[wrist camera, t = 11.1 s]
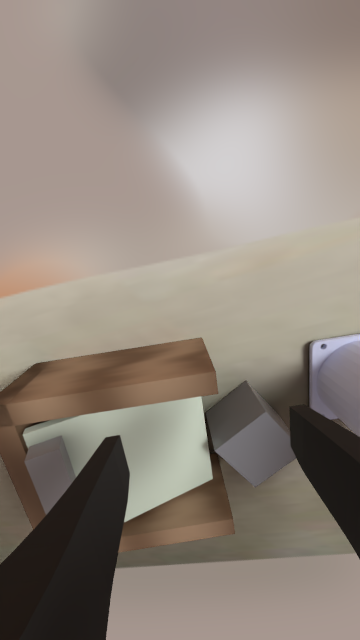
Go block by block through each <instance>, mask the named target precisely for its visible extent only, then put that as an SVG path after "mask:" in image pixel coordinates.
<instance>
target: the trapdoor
mask: <svg viewBox="0 0 360 640" xmlns="http://www.w3.org/2000/svg"><path fill="white" fill-rule="evenodd" d="M116 435H120V437H121V441H122V445H123V448H124V452H125V456H126V460H127V464H128V467H129V471H130V480H129V493H128V503H127V508H126V514H125V519H124V522H126V521H128V520H130V519H132V518H134V517H136V516H138V515H140V514H142V513H144V512H146V511H148V510H150V509H152V508H155V507H157V506H159V505H161V504H163V503H165V502H167V501H169V500H171V499H173V498H175V497H177V496H179V495H181V494H183V493H185V492H187V491H189V490H191V489H193V488H195V487H197V486H199V485H201V484H203V483H205V482H207V481H209V480H211V479H213V475H212V468H211V461H210V454H209V447H208V440H207V433H206V426H205V419H204V412H203V405H202V398H201V396H200V397H194V398H187V399H181V400H175V401H168V402H162V403H156V404H149V405H143V406H137V407H130V408H124V409H118V410H111V411H105V412H99V413H92V414H86V415H80V416H73V417H67V418H61V419H54V420H50V421H47V422H43V423H40V424H37V425H34V426H31V427H28V428H25V430H24V432H23V437H24V440H25V442H26V445H27V447H28V452H27V455H26V458H25V461H24V462H25V465H26V467H27V470H28V472H29V474H30V477H31V479H32V482H33V484H34V487H35V489H36V492H37V494H38V496H39V499H40V501H41V504H42V506H43V509H44V511H45V514H46V515H47V513H48V512H49V511H50V510H51V509H52V507H53V506H54V505H55V504H56V502H57V501H58V500H59V499H60V497H61V496H62V495H63V494H64V493H65V491H66V490H67V489H68V487H69V486H70V485H71V484H72V482H73V481H74V480H75V478H76V477H77V476H78V474H79V473H80V472H81V470H82V469H83V467H84V466H85V465H86V463H87V462H88V461H89V459H90V458H91V456H92V455H93V454H94V452H95V451H96V449H97V448H98V447H99V445H100V444H101V443H102V441H103V440H104V439H105V437H110V436H116Z"/></svg>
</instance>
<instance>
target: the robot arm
mask: <svg viewBox="0 0 360 640" xmlns="http://www.w3.org/2000/svg"><path fill="white" fill-rule="evenodd" d="M322 344H324V345H323V347H321V345H322ZM338 418H339V419H340V420H341V421H342V422H343V423H344V424H345V425H346V426H348V427H349V428H350V429H351V430H352V431H353V432H354V433H355V434H356V435H355V434H354V433H352V432H350V431H348V430H347V429H345V428H343V427H341V426H340V425H338V424H336V423H335V422H333V421H331V420H332V419H338ZM290 446H291V448H292V450H293V452H294V454H295V456H296V458H297V460H298V462H299V464H300V466H301V468H302V470H303V471H304V473H305V475H306V476H307V478H308V479H309V481H310V482H311V484H312V485H313V487H314V488H315V490H316V492H317V493H318V495H319V496H320V498H321V499H322V501H323V502H324V504H325V505H326V507H327V508H328V510H329V511H330V513H331V514H332V516H333V517H334V519H335V520H336V522H337V523H338V525H339V526H340V528H341V529H342V531H343V532H344V534H345V535H346V537H347V539H348V540H349V542H350V543H351V545H352V547H353V548H354V550H355V552H356V553H357V555H358V557H359V559H360V334H354V335H348V336H341V337H335V338H328V339H322V340H316V341H313V342H312V343H311V344H310V408H309V407H308V406H306V405H304V404H303V405H297V406H291V407H290ZM129 480H130V471H129V467H128V464H127V460H126V456H125V452H124V448H123V445H122V441H121V437H120V435H116V436H110V437H105V439H104V440H103V441H102V443H101V444H100V445H99V447H98V448H97V449H96V451H95V452H94V454H93V455H92V456H91V458H90V459H89V461H88V462H87V463H86V465H85V466H84V467H83V469H82V470H81V472H80V473H79V474H78V476H77V477H76V478H75V480H74V481H73V482H72V484H71V485H70V486H69V487H68V489H67V490H66V491H65V493H64V494H63V495H62V496H61V497H60V499H59V500H58V501H57V502H56V504H55V505H54V506H53V507H52V509H51V510H50V511H49V512H48V513H47V515H46V516H45V517H44V518H43V519H42V521H41V522H40V523H39V524H38V525H37V526H36V527H35V528H34V530H33V531H32V532H31V533H30V534H29V535H28V536H27V537H26V538H25V539H24V540H23V542H22V543H21V544H20V545H19V546H18V547H17V548H16V549H15V550H14V551H13V552H12V553H11V554H10V555H9V556H8V557H7V558H6V559H5V560H4V561H3V562H2V563H1V564H0V640H106V631H107V623H108V614H109V606H110V598H111V591H112V584H113V578H114V572H115V567H116V562H117V556H118V551H119V546H120V540H121V535H122V530H123V525H124V519H125V514H126V508H127V503H128V493H129Z"/></svg>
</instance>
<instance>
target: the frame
mask: <svg viewBox="0 0 360 640" xmlns="http://www.w3.org/2000/svg"><path fill="white" fill-rule="evenodd" d="M213 394H218V388H217V380H216V371H215V369H214V367H213V364H212V362H211V359H210V357H209V354H208V352H207V349H206V347H205V344H204V342H203V339H202V338H196V339H189V340H183V341H177V342H170V343H164V344H157V345H151V346H145V347H138V348H132V349H125V350H119V351H113V352H106V353H100V354H93V355H87V356H81V357H74V358H68V359H61V360H55V361H48V362H42V363H36V364H34V365H33V366H32V367H31V368H30V369H28V370H27V371H26V372H25V373H23V374H22V375H21V376H20V377H19V378H17V379H16V380H15V381H14V382H12V383H11V384H10V385H9V386H7V387H6V388H5V389H4V390H3V391H1V392H0V454H1V457H2V459H3V461H4V464H5V466H6V468H7V470H8V473H9V475H10V477H11V480H12V482H13V484H14V486H15V489H16V491H17V493H18V496H19V498H20V500H21V502H22V505H23V507H24V509H25V512H26V514H27V516H28V518H29V521H30V523H31V525H32V528H33V530H34V528H35V527H36V526H37V525H38V524H39V523H40V522H41V521H42V519H43V518H44V517H45V516H46V514H45V511H44V509H43V506H42V504H41V501H40V499H39V496H38V494H37V492H36V489H35V487H34V484H33V482H32V479H31V477H30V474H29V472H28V470H27V467H26V465H25V462H24V461H25V458H26V455H27V452H28V447H27V445H26V442H25V440H24V437H23V432H24V430H25V428H28V427H31V426H34V425H37V424H40V423H43V422H47V421H50V420H54V419H61V418H67V417H73V416H80V415H86V414H92V413H99V412H105V411H111V410H118V409H124V408H130V407H137V406H143V405H149V404H156V403H162V402H168V401H175V400H181V399H187V398H194V397H200V396H207V395H213ZM210 461H211V468H212V475H213V479H211V480H209V481H207V482H205V483H203V484H201V485H199V486H197V487H195V488H193V489H191V490H189V491H187V492H185V493H183V494H181V495H179V496H177V497H175V498H173V499H171V500H169V501H167V502H165V503H163V504H161V505H159V506H157V507H155V508H152V509H150V510H148V511H146V512H144V513H142V514H140V515H138V516H136V517H134V518H132V519H130V520H128V521H126V522H124V525H123V530H122V535H121V540H120V546H119V551H118V552H124V551H131V550H137V549H143V548H149V547H155V546H162V545H168V544H174V543H180V542H186V541H193V540H199V539H205V538H211V537H217V536H224V535H230V534H235V531H234V523H233V517H232V513H231V509H230V504H229V500H228V496H227V492H226V488H225V484H224V480H223V476H222V472H221V468H220V464H219V460H218V455H217V453H212V454H210Z"/></svg>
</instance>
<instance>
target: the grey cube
mask: <svg viewBox="0 0 360 640" xmlns="http://www.w3.org/2000/svg"><path fill="white" fill-rule="evenodd" d="M206 417H207V421H208V425H209V429H210V434H211V438H212V442H213V446H214V450H215V452H216V453H218V454H219V455H220V456H221V457H222V458H223V459H224V460H225V461H226V462H228V463H229V464H230V465H231V466H232V467H233V468H234V469H235V470H236V471H238V472H239V473H240V474H241V475H242V476H243V477H244V478H245V479H246V480H248V481H249V482H250V483H251V484H252V485H253V486H254V487H256V486H258V485H259V484H261V483H262V482H263V481H265V480H266V479H268V478H269V477H270V476H272V475H273V474H275V473H276V472H277V471H279V470H280V469H282V468H283V467H284V466H286V465H287V464H289V463H290V462H291V461H293V460H294V459H296V456H295V454H294V452H293V450H292V448H291V446H290V430H289V429H288V428H287V426H286V425H285V423H284V422H283V420H282V419H281V417H280V416H279V415H278V414H277V412H276V411H275V410H274V409H273V408H272V407H271V406H270V405H269V404H268V403H267V402H266V401H265V400H264V399H263V398H262V397H261V396H260V394H259V393H258V392H257V391H256V390H255V389H254V388H253V387H252V386H251V385H250V384H249V383H248V382H247V381H244V382H243V383H242V384H241V385H239V386H238V387H237V388H236V389H234V390H233V391H232V392H231V393H229V394H228V395H227V396H226V397H224V398H223V399H222V400H221V401H219V402H218V403H217V404H216V405H214V406H213V407H212V408H211V409H209V410H208V411H207V412H206Z"/></svg>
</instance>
